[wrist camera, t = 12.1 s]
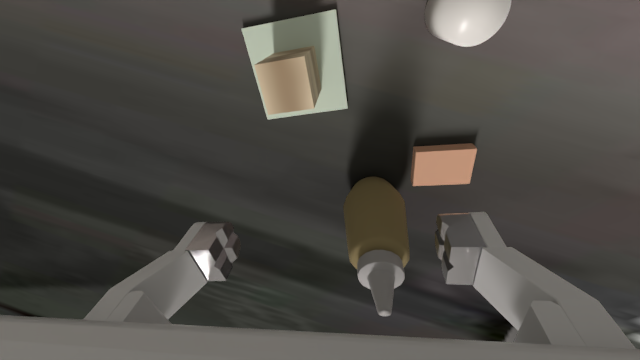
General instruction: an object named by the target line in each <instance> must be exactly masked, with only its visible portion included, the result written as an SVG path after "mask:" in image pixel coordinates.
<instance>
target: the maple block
mask: <svg viewBox="0 0 640 360" xmlns="http://www.w3.org/2000/svg"><path fill="white" fill-rule="evenodd" d="M254 67H255V70H256V74H257V77H258V81H259V84H260V88H261V91H262V95H263V98H264V102H265V105H266V109H267V112H268V115H272V114H279V113H286V112H293V111H300V110H307V109H314V108H315V105H316V102H317V100H318V97H319V94H320V92H321V83H320V77H319V71H318V65H317V59H316V53H315V47H314V46H310V47H304V48H299V49H293V50H288V51H283V52H277V53H273V54H272V55H270V56H268V57H267V58H265V59H263V60H262V61H260V62H258V63H257V64H255V65H254Z"/></svg>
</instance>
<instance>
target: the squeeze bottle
mask: <svg viewBox="0 0 640 360" xmlns="http://www.w3.org/2000/svg"><path fill="white" fill-rule="evenodd" d="M343 208H344V217H345V226H346V235H347V244H348V253H349V259H350V262H351V263H352V265H353V266H354V267H355V268H356V269H357V275H358V280H359V281H360V283H361V284H362V285H363V286H365V287H367V288H369V289H371V292H372V295H373V298H374V302H375V305H376V308H377V311H378V314H379V315H381V316H389V315H391V312H392V302H393V292H394V289H395V288H396V287H398V286H399V285H401V284H402V282H403V280H404V279H405V274H404V268H403V267H405V266H406V264H407V262H408V261H409V242H408V232H407V222H406V212H405V202H404V200H403V198H402V197H401V195H400V193H399V192H398V191H397V190H396V189H395V188H394V187H393V186H392V185H391V184H390V183H389V182H387V181H386V180H384V179H383V178H379V177H366V178H364V179H362V180H359V181H358V182H357V183H356V184H355V185H354V186H353V188H352V190H351V191H350V193H349V194H348V196H347V197H346V200H345V203H344V206H343Z"/></svg>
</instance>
